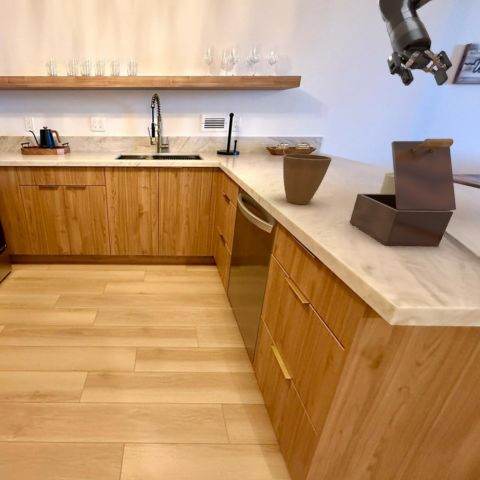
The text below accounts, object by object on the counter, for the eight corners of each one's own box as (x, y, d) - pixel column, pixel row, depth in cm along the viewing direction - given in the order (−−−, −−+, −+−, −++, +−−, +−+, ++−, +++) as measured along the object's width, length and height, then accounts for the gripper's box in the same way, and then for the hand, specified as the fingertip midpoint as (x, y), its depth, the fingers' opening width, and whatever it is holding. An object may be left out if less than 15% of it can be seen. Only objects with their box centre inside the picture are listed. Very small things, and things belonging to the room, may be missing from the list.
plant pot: (323, 209, 95) (335, 160, 88) (276, 205, 100) (284, 158, 93) (318, 198, 108) (328, 154, 101) (276, 194, 112) (283, 152, 106)
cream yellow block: (374, 204, 100) (385, 169, 95) (407, 209, 95) (421, 173, 90) (373, 211, 93) (385, 174, 88) (409, 217, 88) (424, 178, 83)
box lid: (391, 142, 68) (410, 131, 63) (446, 142, 68) (470, 130, 62) (396, 209, 66) (417, 204, 61) (452, 210, 66) (478, 204, 60)
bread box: (349, 222, 84) (357, 193, 80) (393, 223, 83) (403, 193, 80) (385, 245, 70) (397, 211, 66) (438, 246, 69) (453, 211, 66)
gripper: (393, 27, 78) (409, 70, 72) (447, 26, 77) (468, 69, 72) (374, 53, 85) (388, 94, 79) (424, 53, 84) (441, 94, 79)
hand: (426, 82), depth 76 cm, fingers open, 8 cm apart
